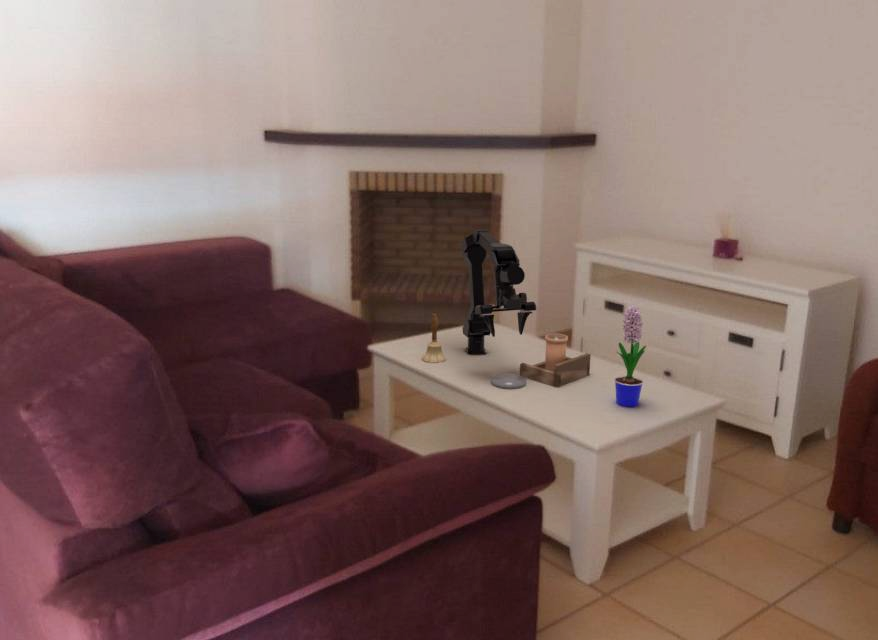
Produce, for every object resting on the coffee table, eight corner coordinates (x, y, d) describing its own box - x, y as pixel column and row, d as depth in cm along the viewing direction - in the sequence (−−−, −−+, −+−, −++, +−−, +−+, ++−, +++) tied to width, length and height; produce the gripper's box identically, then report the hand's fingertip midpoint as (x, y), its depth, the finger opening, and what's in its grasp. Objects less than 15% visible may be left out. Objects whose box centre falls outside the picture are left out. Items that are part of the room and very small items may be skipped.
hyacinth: (648, 400, 253) (657, 302, 245) (635, 411, 245) (644, 310, 237) (621, 394, 258) (628, 298, 250) (607, 404, 249) (614, 305, 241)
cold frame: (519, 375, 273) (520, 354, 271) (551, 364, 285) (553, 344, 283) (557, 387, 263) (558, 365, 261) (589, 374, 275) (590, 354, 273)
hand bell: (446, 363, 284) (447, 317, 280) (421, 363, 284) (422, 316, 280) (446, 355, 292) (447, 310, 288) (422, 355, 292) (422, 310, 288)
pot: (541, 371, 277) (543, 333, 274) (563, 371, 278) (565, 333, 274) (545, 379, 270) (547, 339, 267) (567, 379, 271) (570, 339, 267)
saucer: (488, 377, 271) (488, 373, 271) (523, 377, 272) (523, 373, 271) (493, 389, 260) (493, 385, 260) (528, 389, 261) (528, 385, 261)
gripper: (485, 286, 257) (488, 338, 257) (542, 283, 263) (545, 333, 263) (472, 288, 268) (476, 337, 268) (527, 284, 273) (530, 333, 274)
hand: (507, 335), depth 268 cm, fingers open, 9 cm apart
